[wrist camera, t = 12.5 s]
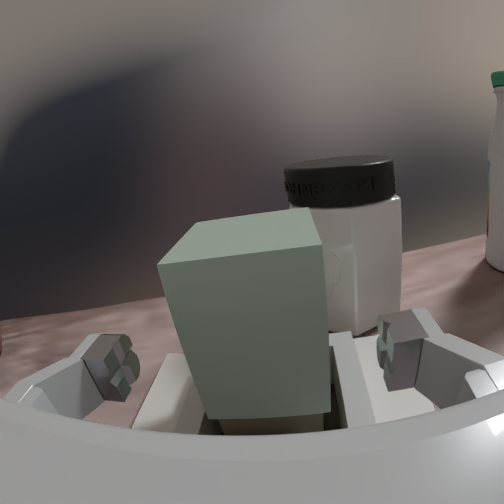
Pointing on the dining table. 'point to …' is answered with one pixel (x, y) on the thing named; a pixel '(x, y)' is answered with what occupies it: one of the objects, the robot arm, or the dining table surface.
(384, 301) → the jar
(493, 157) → the milk bottle
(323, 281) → the plug
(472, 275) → the dining table surface
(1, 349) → the mushroom
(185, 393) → the socket
